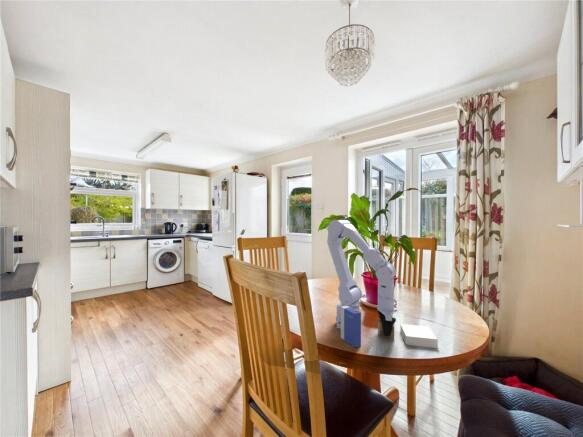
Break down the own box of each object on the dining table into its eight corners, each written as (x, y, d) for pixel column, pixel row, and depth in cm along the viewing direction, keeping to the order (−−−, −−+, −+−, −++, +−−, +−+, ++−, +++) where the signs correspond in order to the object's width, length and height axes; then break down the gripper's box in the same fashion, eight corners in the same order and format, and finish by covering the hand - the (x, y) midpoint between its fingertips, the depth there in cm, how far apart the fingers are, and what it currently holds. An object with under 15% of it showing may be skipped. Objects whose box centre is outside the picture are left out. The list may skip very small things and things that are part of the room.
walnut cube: (379, 338, 91) (379, 325, 91) (378, 332, 95) (378, 319, 95) (394, 340, 89) (394, 326, 89) (391, 334, 94) (391, 321, 94)
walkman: (361, 345, 85) (361, 311, 85) (354, 347, 84) (354, 312, 84) (346, 336, 92) (346, 304, 92) (340, 337, 91) (340, 305, 91)
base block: (406, 344, 86) (406, 336, 86) (400, 331, 96) (400, 324, 96) (437, 348, 84) (437, 339, 84) (428, 334, 94) (428, 326, 94)
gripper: (401, 303, 84) (401, 343, 84) (393, 291, 99) (393, 325, 99) (379, 302, 86) (379, 340, 86) (375, 290, 100) (375, 323, 100)
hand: (385, 332), depth 92 cm, fingers open, 5 cm apart
